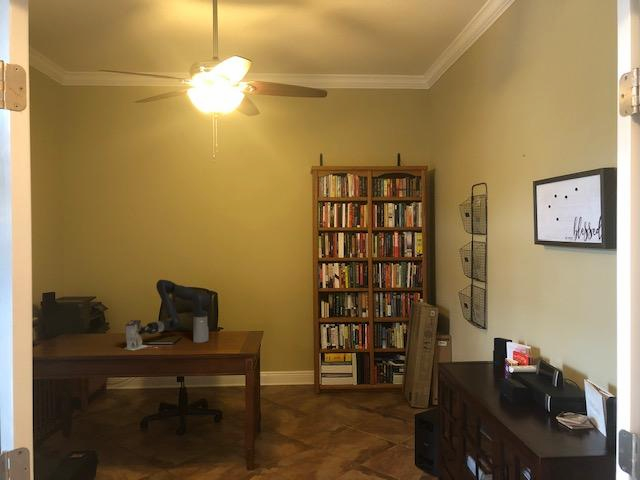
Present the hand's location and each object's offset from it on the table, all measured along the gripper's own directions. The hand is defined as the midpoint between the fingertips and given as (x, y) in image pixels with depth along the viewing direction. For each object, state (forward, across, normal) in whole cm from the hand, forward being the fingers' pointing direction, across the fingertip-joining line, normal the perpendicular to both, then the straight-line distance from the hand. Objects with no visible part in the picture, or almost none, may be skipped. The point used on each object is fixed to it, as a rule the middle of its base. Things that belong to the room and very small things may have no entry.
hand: (135, 331), depth 298 cm
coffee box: (0, 0, +9) cm, 9 cm away
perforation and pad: (-1, +4, +10) cm, 11 cm away
